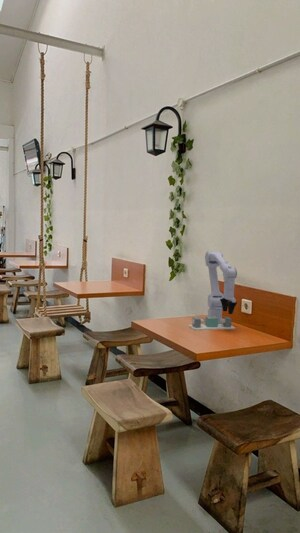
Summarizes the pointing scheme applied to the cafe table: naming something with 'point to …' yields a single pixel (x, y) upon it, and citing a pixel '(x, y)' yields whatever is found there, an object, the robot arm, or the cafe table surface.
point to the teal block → (211, 322)
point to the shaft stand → (197, 326)
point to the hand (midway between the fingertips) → (227, 312)
